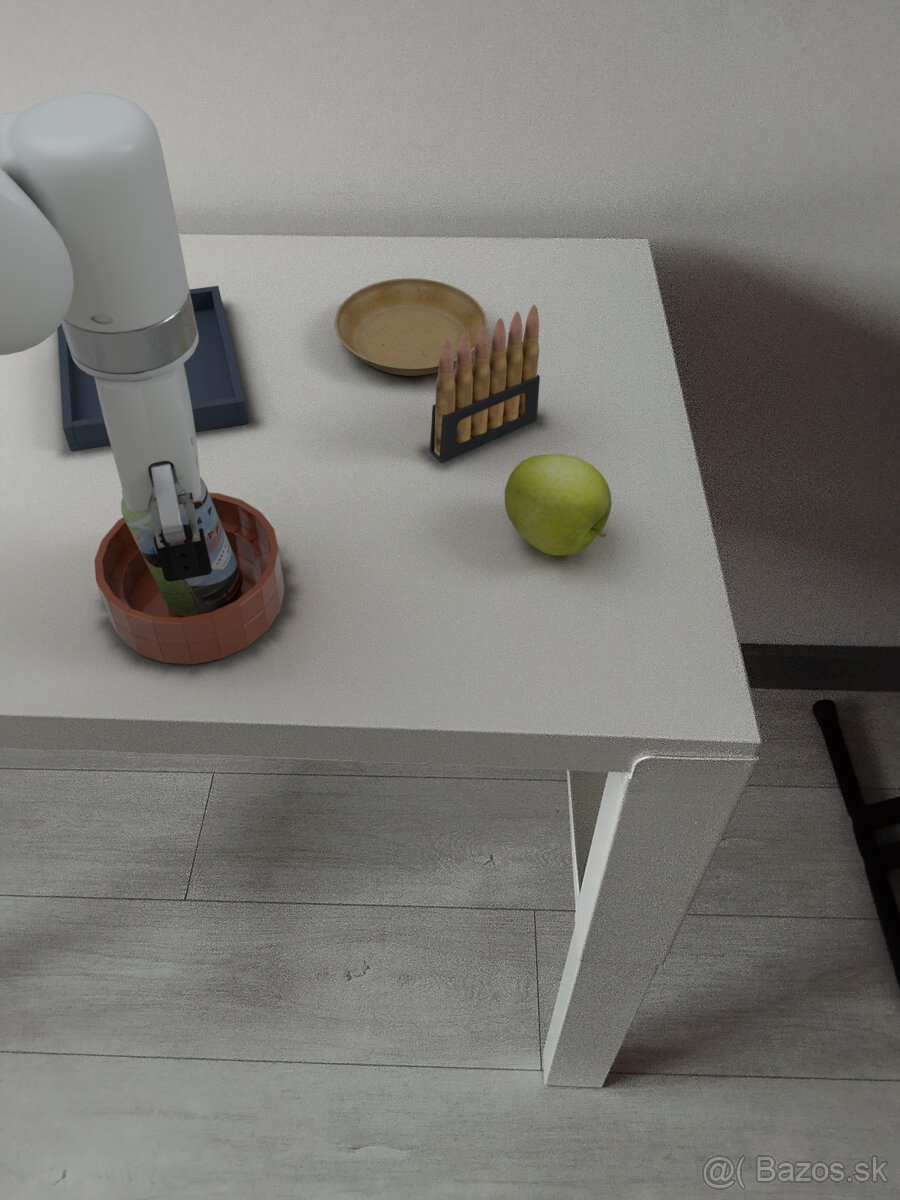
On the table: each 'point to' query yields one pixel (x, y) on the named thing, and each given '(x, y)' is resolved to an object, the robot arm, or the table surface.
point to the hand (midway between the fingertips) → (181, 526)
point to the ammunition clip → (486, 388)
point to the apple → (558, 503)
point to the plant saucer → (407, 324)
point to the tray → (205, 371)
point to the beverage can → (196, 591)
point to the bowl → (199, 636)
